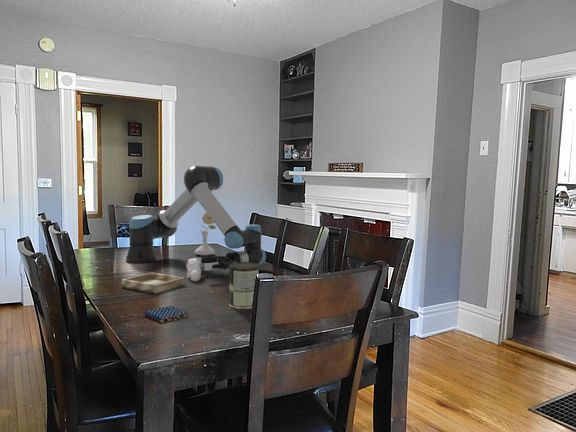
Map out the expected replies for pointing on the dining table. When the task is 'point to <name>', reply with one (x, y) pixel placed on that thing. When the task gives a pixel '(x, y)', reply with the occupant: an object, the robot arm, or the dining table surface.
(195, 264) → the white rounded lump
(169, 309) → the woven mat
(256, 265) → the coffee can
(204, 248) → the flower in vase
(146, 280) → the birch tray
